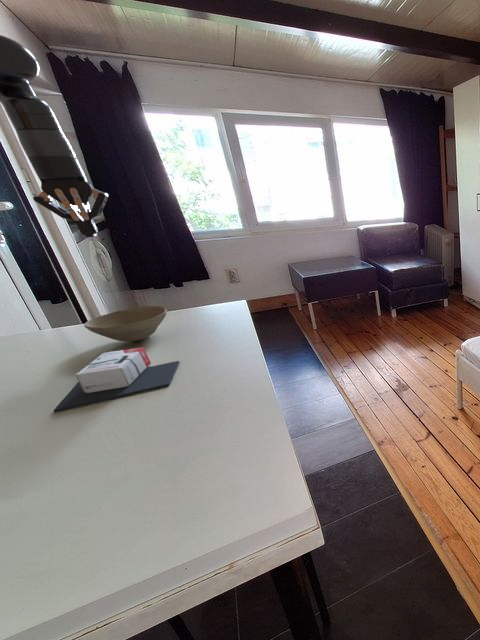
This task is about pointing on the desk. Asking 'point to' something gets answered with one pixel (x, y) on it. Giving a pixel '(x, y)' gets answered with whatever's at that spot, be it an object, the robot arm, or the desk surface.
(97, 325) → the bowl
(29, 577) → the desk surface
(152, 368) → the mat
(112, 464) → the desk surface
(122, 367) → the ink box
